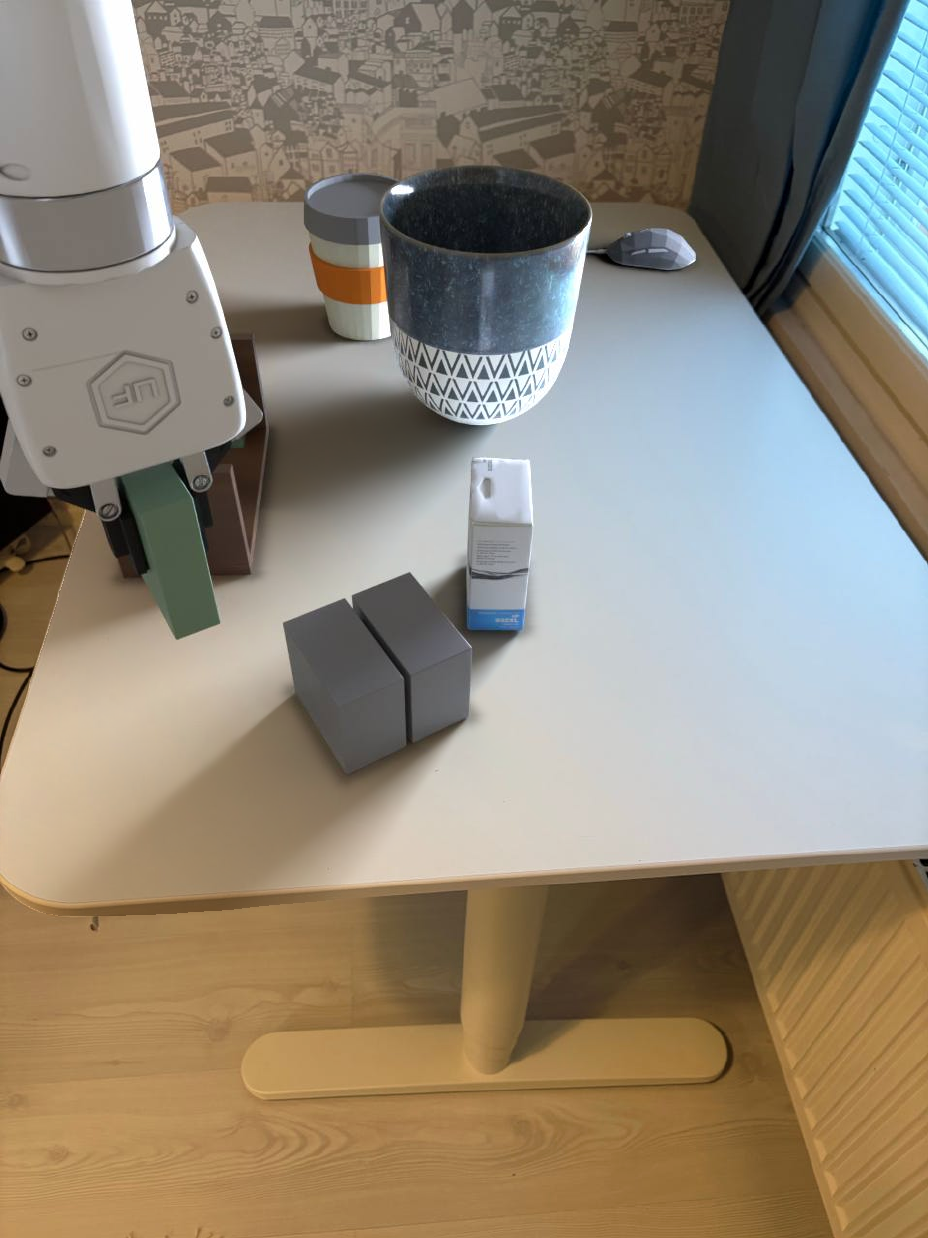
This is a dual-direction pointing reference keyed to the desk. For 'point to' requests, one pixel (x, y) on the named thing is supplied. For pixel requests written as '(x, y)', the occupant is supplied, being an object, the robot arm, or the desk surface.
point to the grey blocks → (379, 670)
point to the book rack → (235, 481)
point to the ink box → (498, 543)
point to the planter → (482, 285)
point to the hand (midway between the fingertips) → (164, 546)
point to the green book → (171, 548)
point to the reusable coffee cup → (349, 252)
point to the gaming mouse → (650, 249)
